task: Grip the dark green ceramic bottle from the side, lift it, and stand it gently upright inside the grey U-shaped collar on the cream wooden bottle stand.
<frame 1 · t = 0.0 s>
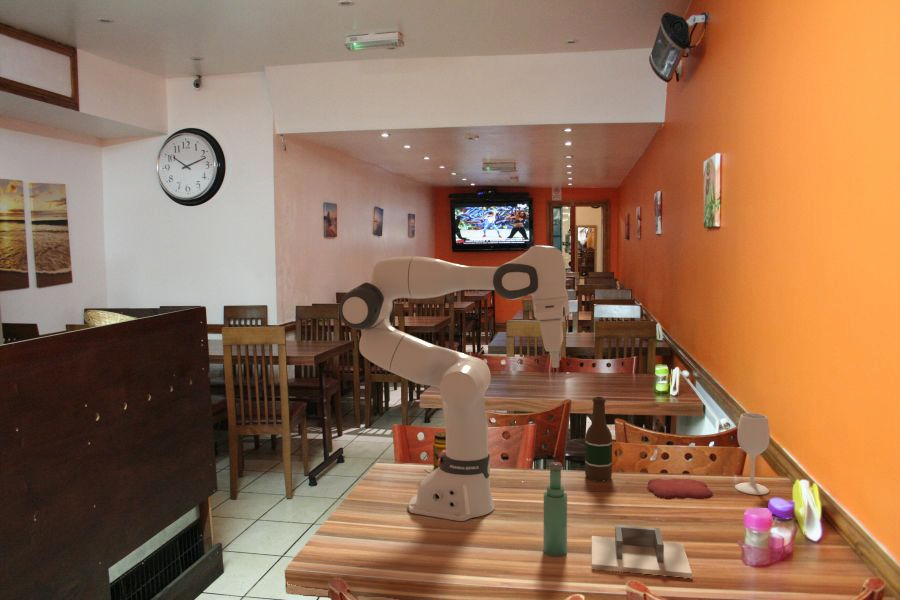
hand: (556, 363, 164), 39 cm above the table, tool pointing down, fingers open, 8 cm apart
wineglass: (751, 490, 182), on the table
patty: (678, 492, 183), on the table
beer bottle: (598, 478, 193), on the table
condiment: (442, 472, 199), on the table
bottle stand: (638, 558, 142), on the table
bottle: (555, 551, 146), on the table
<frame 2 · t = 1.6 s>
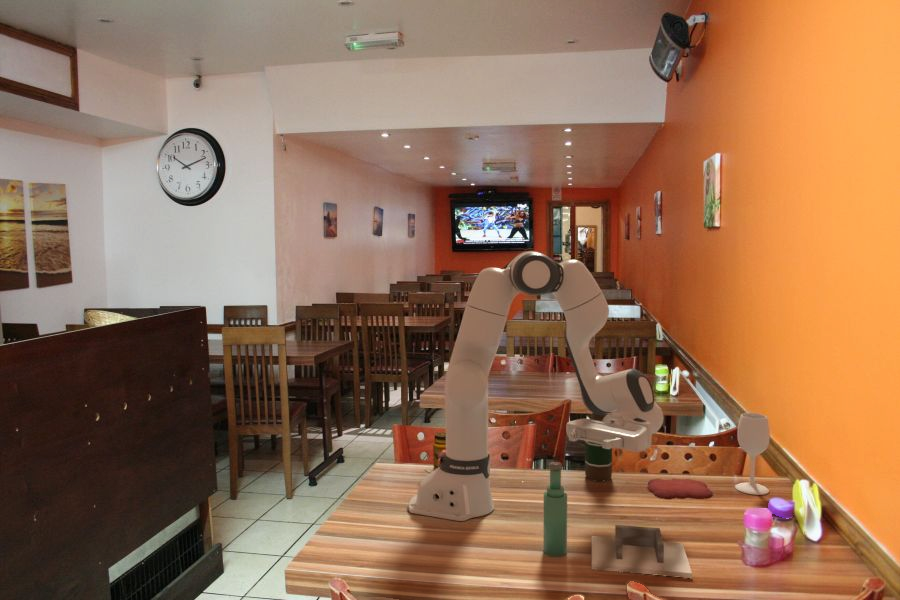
hand: (587, 441, 152), 23 cm above the table, tool horizontal, fingers open, 8 cm apart
nothing on the table moved.
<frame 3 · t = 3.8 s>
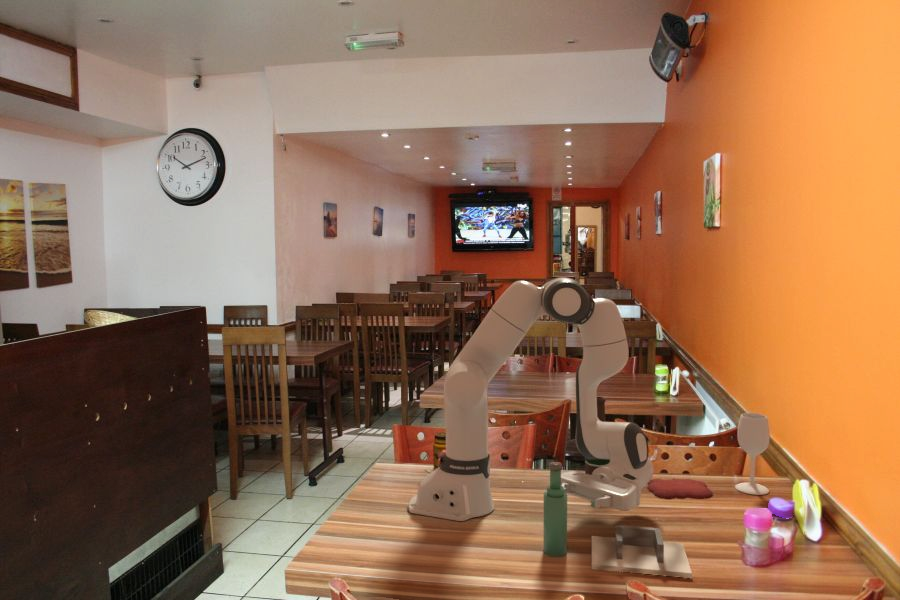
hand: (576, 498, 151), 10 cm above the table, tool horizontal, fingers open, 8 cm apart
nothing on the table moved.
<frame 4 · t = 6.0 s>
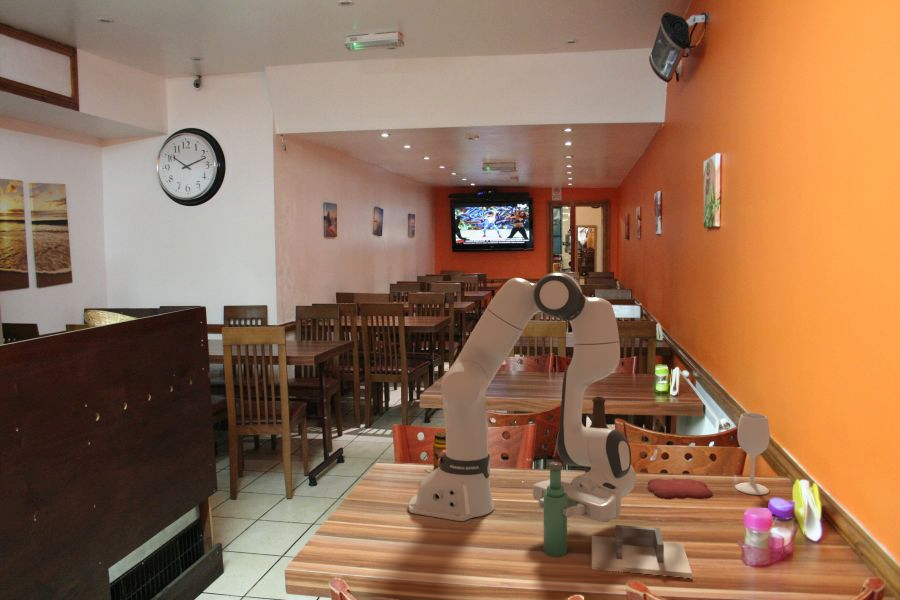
hand: (552, 508, 144), 10 cm above the table, tool horizontal, fingers closed on bottle, 5 cm apart
bottle: (555, 551, 146), on the table, touching gripper
everything else where it was.
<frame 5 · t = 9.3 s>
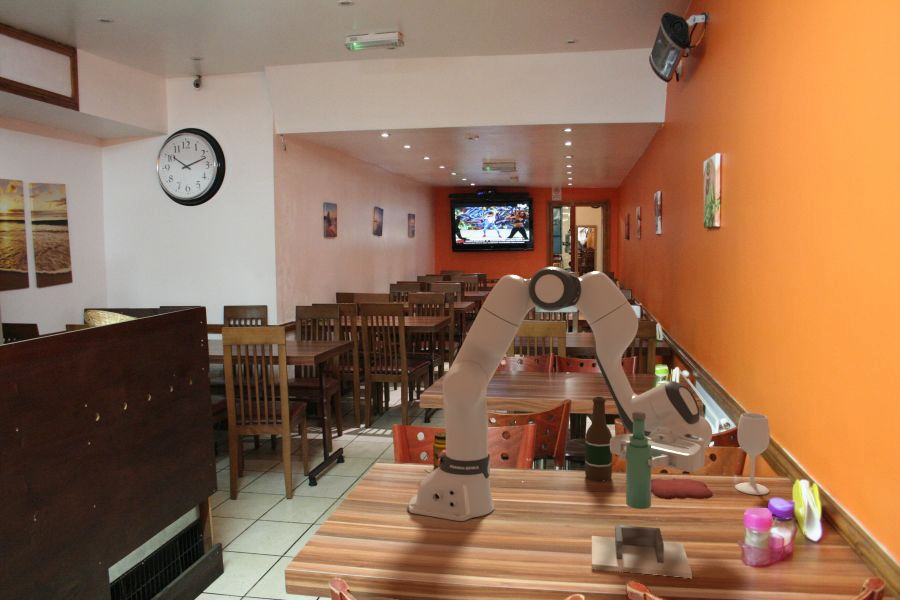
hand: (636, 459, 140), 22 cm above the table, tool horizontal, fingers closed on bottle, 5 cm apart
bottle: (638, 504, 141), point 12 cm above the table, touching gripper
everything else where it was.
when the fingers open (13 cm above the table, at t = 12.5 s): bottle drops 1 cm, resting on bottle stand.
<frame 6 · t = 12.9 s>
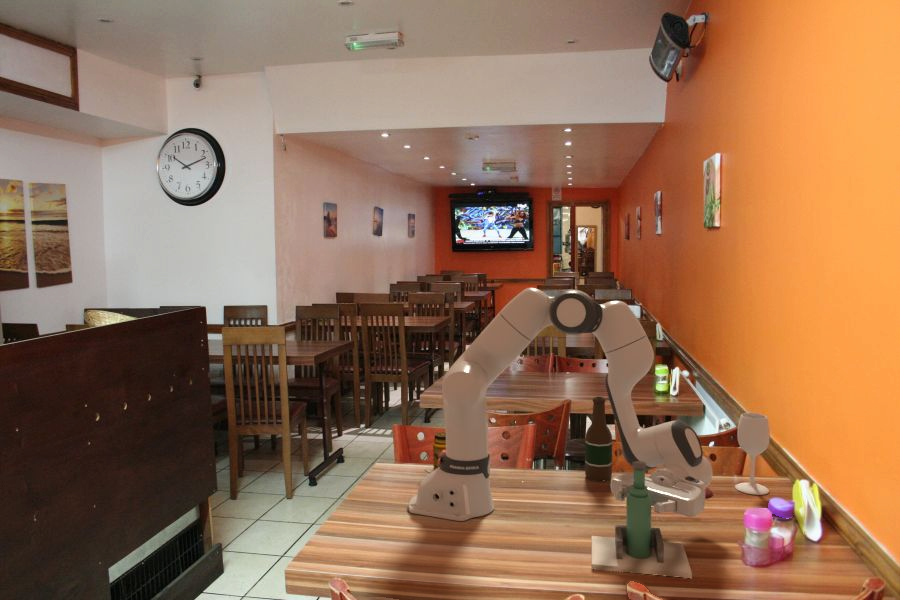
hand: (637, 503, 140), 13 cm above the table, tool horizontal, fingers open, 8 cm apart
bottle: (638, 553, 142), point 1 cm above the table, touching bottle stand
everything else where it was.
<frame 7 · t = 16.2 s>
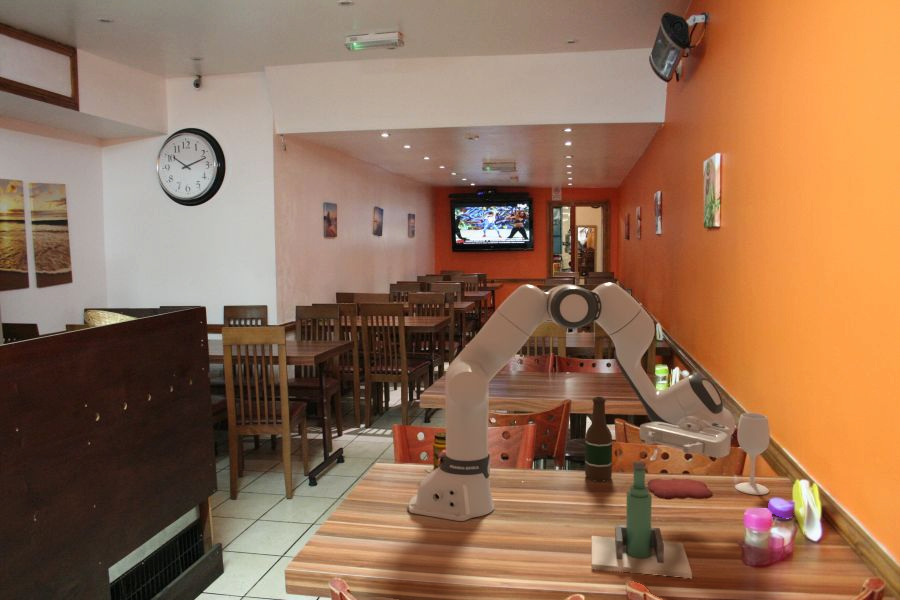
hand: (666, 445, 149), 23 cm above the table, tool horizontal, fingers open, 8 cm apart
nothing on the table moved.
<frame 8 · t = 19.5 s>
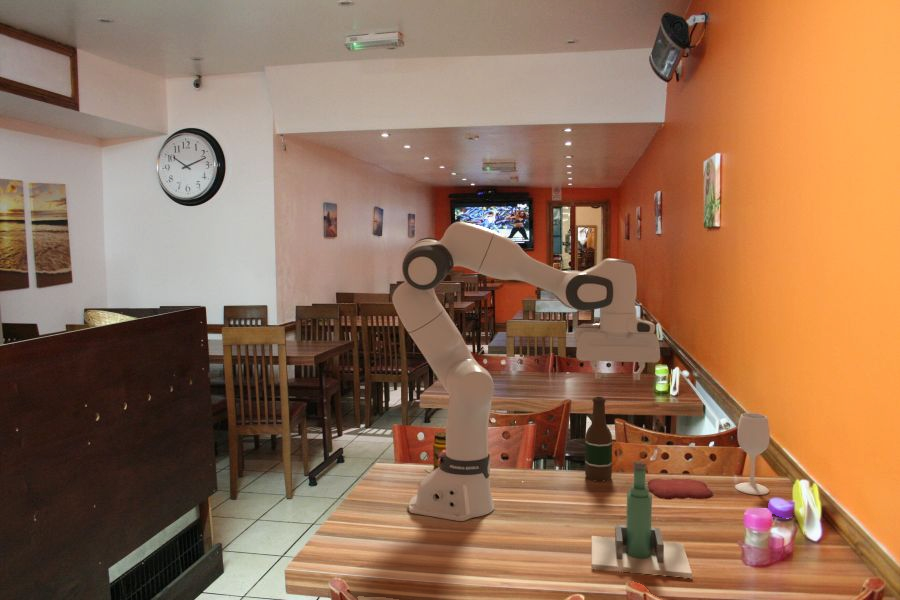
hand: (617, 379, 163), 35 cm above the table, tool pointing down, fingers open, 8 cm apart
nothing on the table moved.
at the end: bottle 0.1 cm off-centre on the bottle stand, point 1.2 cm above the bottle stand's base; bottle tilted 0°; the gripper is holding nothing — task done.
